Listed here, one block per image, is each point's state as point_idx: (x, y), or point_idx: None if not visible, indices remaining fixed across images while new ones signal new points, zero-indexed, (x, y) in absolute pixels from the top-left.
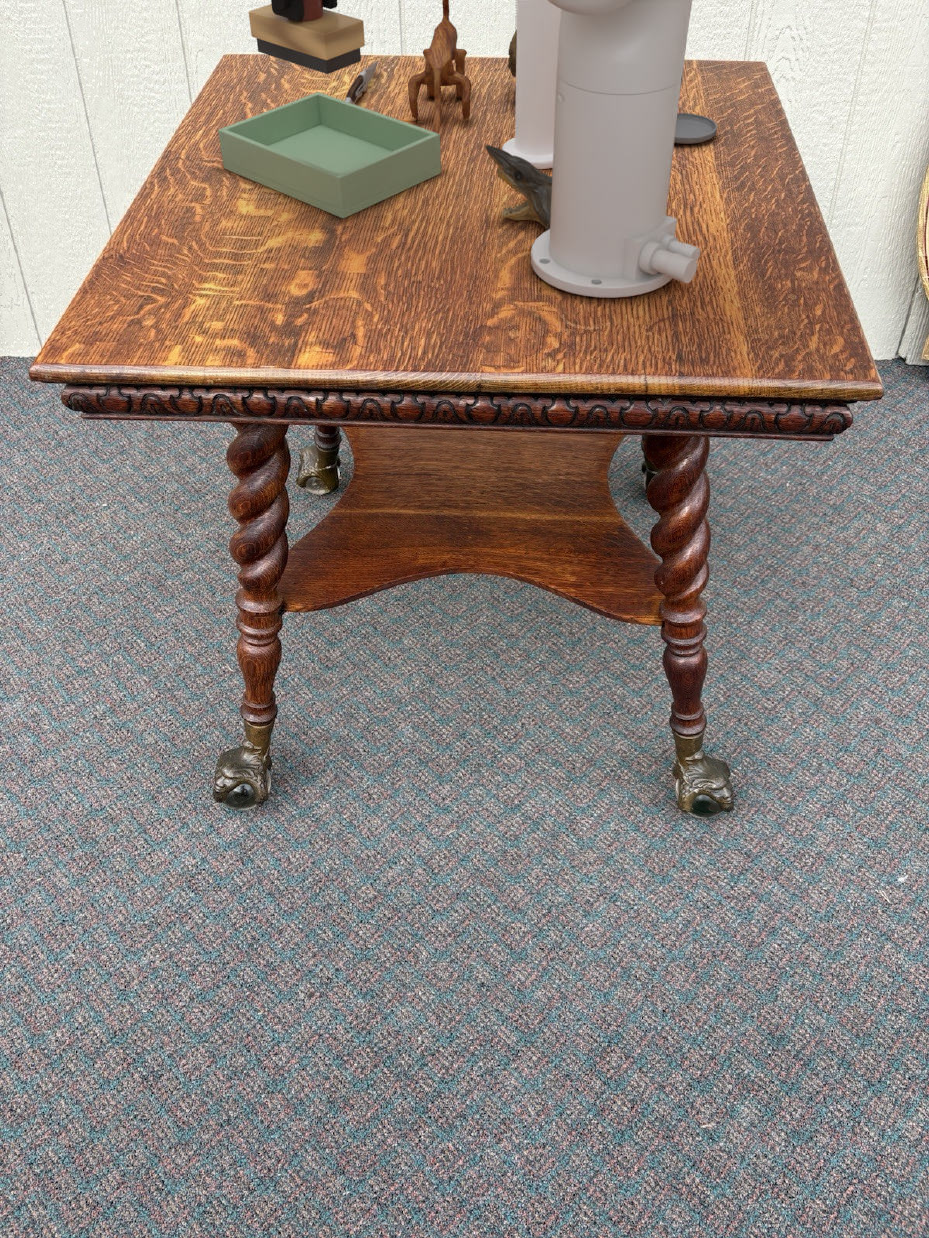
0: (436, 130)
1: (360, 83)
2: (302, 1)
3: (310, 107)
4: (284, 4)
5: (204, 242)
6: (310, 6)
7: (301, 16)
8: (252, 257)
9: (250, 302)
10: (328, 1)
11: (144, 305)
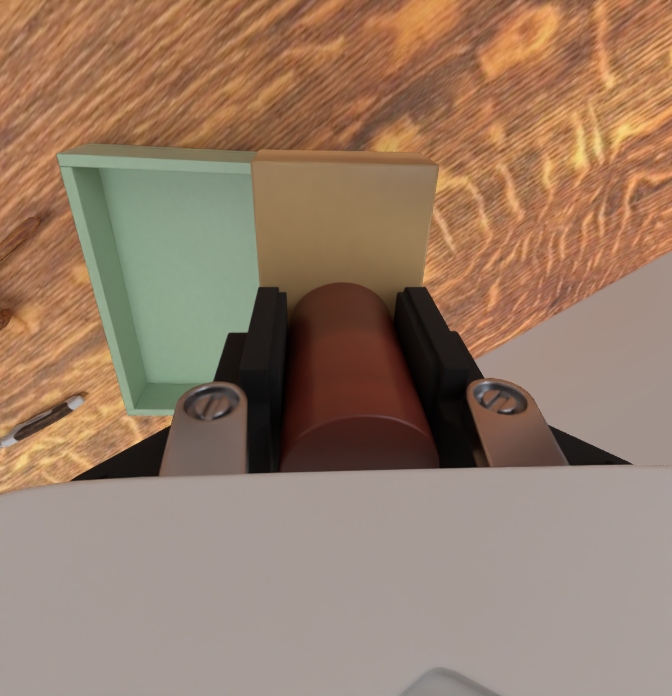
0: (17, 232)
1: (27, 426)
2: (409, 309)
3: (154, 401)
4: (455, 333)
5: (479, 258)
6: (367, 303)
7: (414, 288)
8: (485, 174)
9: (603, 64)
10: (285, 303)
11: (654, 186)
